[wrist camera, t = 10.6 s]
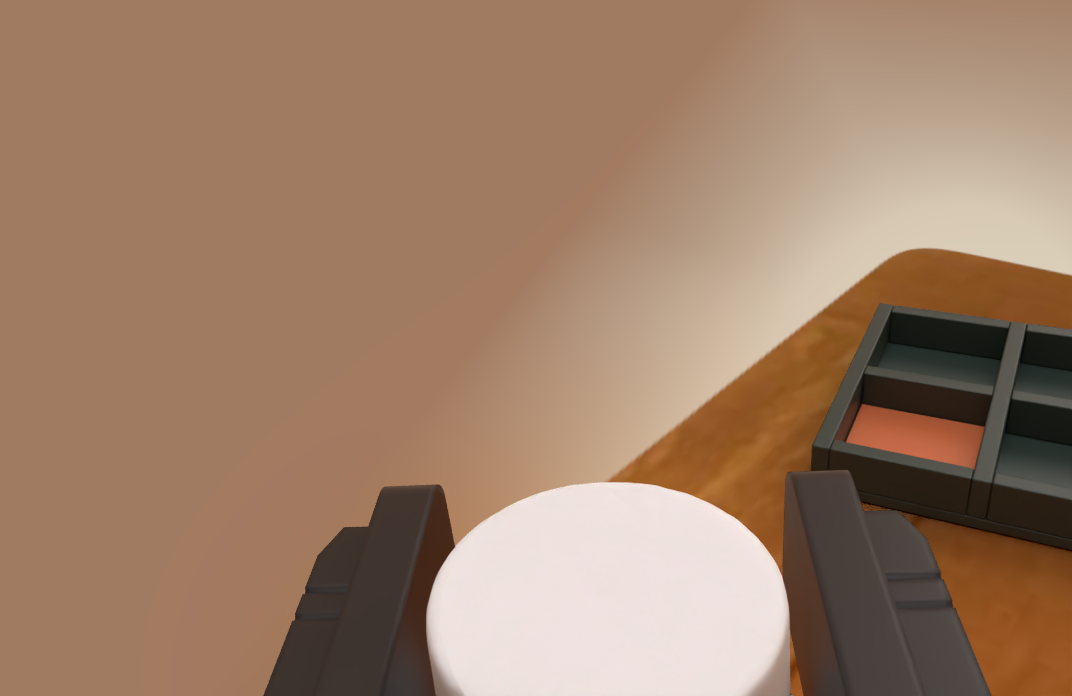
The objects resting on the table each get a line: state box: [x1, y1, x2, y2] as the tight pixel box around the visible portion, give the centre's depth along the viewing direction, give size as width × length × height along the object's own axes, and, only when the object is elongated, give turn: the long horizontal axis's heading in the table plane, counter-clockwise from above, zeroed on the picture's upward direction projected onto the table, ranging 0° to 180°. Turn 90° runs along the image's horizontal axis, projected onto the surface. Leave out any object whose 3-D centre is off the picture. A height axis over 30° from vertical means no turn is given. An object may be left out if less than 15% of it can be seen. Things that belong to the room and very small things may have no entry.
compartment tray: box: [811, 304, 1072, 550], centre depth 40 cm, size 12×12×2 cm
